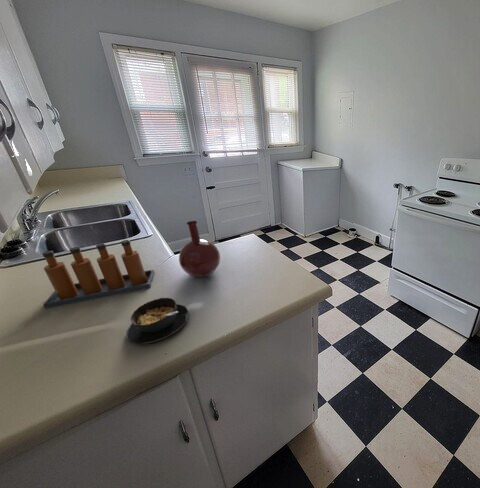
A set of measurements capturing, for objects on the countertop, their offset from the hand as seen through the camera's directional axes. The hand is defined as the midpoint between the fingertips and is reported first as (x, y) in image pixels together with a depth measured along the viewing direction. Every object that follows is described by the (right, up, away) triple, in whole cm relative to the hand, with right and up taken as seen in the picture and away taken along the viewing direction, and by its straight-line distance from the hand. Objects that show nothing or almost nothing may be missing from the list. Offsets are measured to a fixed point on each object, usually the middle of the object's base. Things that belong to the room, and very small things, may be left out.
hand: (18, 195), depth 88 cm
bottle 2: (+31, -30, +2) cm, 43 cm away
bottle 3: (+37, -29, +4) cm, 47 cm away
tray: (+28, -31, +1) cm, 42 cm away
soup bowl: (+56, -38, -15) cm, 70 cm away
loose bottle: (+19, -32, -3) cm, 38 cm away
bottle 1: (+25, -31, 0) cm, 40 cm away
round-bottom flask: (+57, -27, +10) cm, 63 cm away
